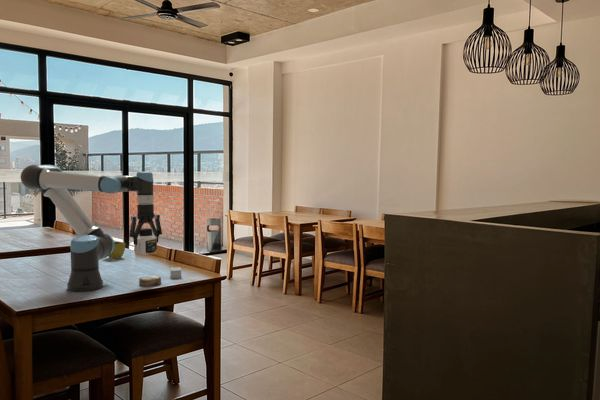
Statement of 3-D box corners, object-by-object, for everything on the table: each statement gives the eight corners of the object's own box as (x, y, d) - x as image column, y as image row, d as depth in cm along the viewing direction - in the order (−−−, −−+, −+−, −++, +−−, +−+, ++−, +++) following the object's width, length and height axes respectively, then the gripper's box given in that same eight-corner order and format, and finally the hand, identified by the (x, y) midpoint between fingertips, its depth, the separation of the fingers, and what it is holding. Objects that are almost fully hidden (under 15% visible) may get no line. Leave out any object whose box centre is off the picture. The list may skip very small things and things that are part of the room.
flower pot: (126, 257, 290) (125, 242, 290) (113, 259, 283) (113, 244, 282) (116, 255, 295) (116, 241, 294) (104, 258, 288) (104, 243, 287)
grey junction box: (181, 278, 242) (181, 270, 242) (171, 278, 240) (171, 270, 240) (180, 274, 249) (180, 267, 248) (170, 275, 247) (170, 267, 247)
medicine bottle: (145, 255, 227) (145, 230, 226) (135, 253, 231) (134, 228, 230) (157, 252, 233) (156, 228, 232) (146, 251, 237) (146, 227, 236)
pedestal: (152, 287, 223) (152, 281, 223) (134, 285, 226) (134, 279, 226) (165, 282, 233) (165, 276, 232) (147, 280, 236) (147, 274, 236)
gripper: (127, 205, 220) (128, 254, 222) (169, 203, 235) (169, 248, 236) (120, 204, 225) (121, 252, 227) (161, 202, 240) (162, 246, 242)
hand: (146, 250), depth 232 cm, fingers closed on medicine bottle, 8 cm apart
